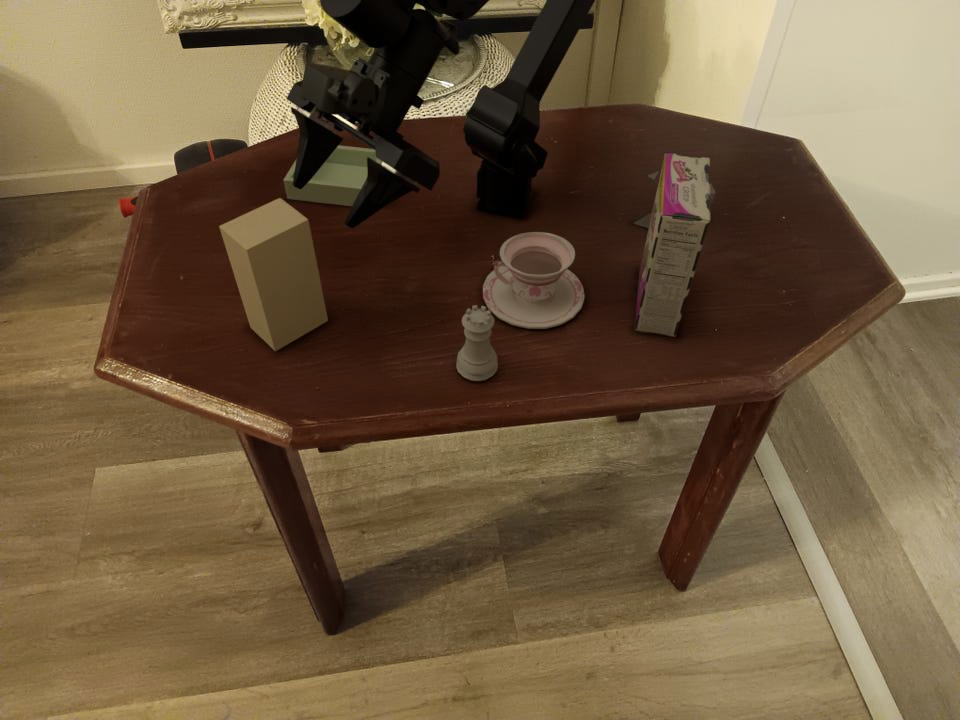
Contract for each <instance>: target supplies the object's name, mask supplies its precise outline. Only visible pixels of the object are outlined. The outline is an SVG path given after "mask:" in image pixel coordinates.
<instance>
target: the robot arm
mask: <svg viewBox="0 0 960 720" xmlns="http://www.w3.org/2000/svg"><path fill="white" fill-rule="evenodd" d="M319 2H320V7H321V9H322V11H323V12H324V13H325V14H326V15H327V16H329V18H331V19H333V20H334V21H335V22H336V23H337V24H339V25H340V26H341V27H342V28H343V29H345V30H346V31H347V32H349V33H350V34H351V35H353V37H355V38H356V39H357V40H358V41H360V42H362V44H364V45H365V46H366V47H369V48H370V49H371V48H372V49H373V51H372V53H371V54H370V57H369V59H368V60H365V59H363V58H361V57H360V56H359V57H358V59H356V60H354V62H353V63H352V66H351V67H350V68H349V69H346V68H345V69H344V68H341V67H338V66H332V65H327V64H320V63H314V62H305V66H304V71H303V75H302V79H301V80H299V81H296V82H294V83H293V85H292V86H291V88H290V91H289V92H288V95H287V97H286V98H285V99H286V100H288V102H290V103H292V104H293V105H295V106H296V107H297V108H294V107H292V106H291V107H290V111H291V114H292V115H294V118H295V121H296V123H297V127H298V129H299V137H298V138H299V139H298V140H299V141H298V147H297V155H296V159H297V160H296V159H295V161H296V166H295V172H294V178H293V186H294V187H296V188H298V189H302V188H303V187H304V186H305V185H306V184H307V183H308V182H309V181H310V180H311V179H312V178H313V176H314V175H315V174H316V173H317V171H318V170H319V169H320V168H321V166H322V165H323V164H324V163H325V161H326V160H327V159H328V158H329V156H330V155H331V154H332V153H333V152H334V150H335V149H336V148H337V147H338V145H340V144H341V143H342V142H343V140H344V137H342V136H340V135H339V134H338V133H336V132H335V131H333V130H336V131H337V132H340V133H341V132H346V133H348V134H349V135H350V136H352V137H353V138H355V139H357V140H358V141H359V142H361V143H363V144H365V145H366V146H367V147H369V148H370V149H374V150H375V151H376V158H378V159H379V160H381V161H382V162H381V164H379V163H377V162H376V161H374V160H372V159H370V158H369V157H367V171H368V176H367V179H366V181H365V182H364V184H363V186H362V188H361V190H360V192H359V194H358V196H357V198H356V200H355V202H354V204H353V205H352V206H350V207H351V208H350V210H349V211H348V213H347V217H346V219H345V221H344V224H345V226H346V227H348V228H351V229H354V228H356V227H358V226H359V225H361V224H362V223H363V222H364V221H367V220H368V219H369V218H370V217H372V216H373V215H375V214H376V213H378V212H380V211H381V210H382V209H384V208H385V207H387V206H388V205H390V204H392V203H393V202H395V201H397V200H398V199H401V198H402V197H404V196H406V195H408V194H409V193H412V192H414V193H416V194H418V193H419V192H420V191H421V187H423V188H425V189H427V190H429V191H433V188H434V186H435V185H436V183H437V181H438V180H439V178H440V175H441V174H440V173H441V171H440V169H441V168H440V166H441V165H440V162H439V161H437V160H436V159H435V158H433V157H432V156H430V155H428V154H427V153H425V152H424V151H422V150H421V149H420V148H418V147H417V146H415V145H413V144H412V143H411V142H408V141H406V140H405V139H403V138H404V135H403V134H401V133H400V132H398V130H399V128H400V127H401V125H402V123H403V121H404V120H405V118H406V116H407V114H408V112H409V111H410V109H411V107H412V106H413V107H414V108H415V109H418V110H420V109H421V107H422V105H423V103H424V101H425V100H424V99H423V98H421V97H420V96H419V93H420V91H421V89H422V88H423V86H424V84H425V83H426V80H427V78H428V77H429V75H430V74H431V72H432V70H433V68H434V66H435V65H436V63H437V61H438V60H439V58H440V56H441V54H442V52H443V51H447V52H448V53H450V54H452V55H454V56H458V55H459V54H460V51H461V49H460V42H459V40H458V35H457V29H458V27H457V26H456V25H455V24H453V23H451V22H449V21H448V20H445V19H440V20H438V19H437V18H436V17H435V16H434V15H433V14H432V13H431V12H430V11H432V12H434V13H436V14H437V15H446V16H449V17H451V18H453V19H455V20H459V21H467V20H469V19H471V18H473V17H474V16H475V15H476V14H478V12H479V11H481V10H482V9H483V7H485V6H486V5H487V3H488V2H490V0H319ZM595 2H596V0H546V1H545V3H544V5H543V6H542V8H541V10H540V12H539V13H538V15H537V18H536V20H535V21H534V24H533V26H532V27H531V29H530V31H529V33H528V34H527V36H526V39H525V40H524V42H523V44H522V46H521V47H520V50H519V52H518V54H517V56H516V58H515V60H514V61H513V63H512V65H511V67H510V69H509V70H508V72H507V74H506V76H505V78H504V79H503V80H502V81H500V82H499V83H498V84H497V85H495V86H493V87H492V88H491V87H490V86H488V85H486V84H484V85H482V86H481V88H479V90H478V91H477V94H476V96H475V99H474V101H473V103H472V105H471V106H470V108H469V109H468V110H467V111H466V112H465V116H466V120H465V122H464V125H463V127H462V132H463V133H464V141H465V144H466V145H467V146H468V148H469V149H470V151H471V154H472V155H473V156H475V157H477V158H480V159H482V161H480V162H481V163H480V166H479V167H478V169H477V171H476V198H477V199H478V202H477V204H476V210H477V211H479V212H485V213H491V214H494V215H495V214H496V215H501V216H504V217H505V216H506V217H511V218H516V219H524V217H525V215H526V213H527V210H528V208H529V206H530V203H531V201H532V199H533V196H534V195H535V189H534V188H533V187H532V186H533V179H534V178H536V177H537V176H538V172H539V171H540V170H543V169H544V167H545V164H546V160H547V157H548V154H549V153H548V151H547V150H546V149H545V148H543V147H542V146H541V145H540V144H539V143H537V141H535V140H536V138H537V136H538V133H539V131H540V127H541V101H542V99H543V97H544V94H545V93H546V91H547V89H548V88H549V86H550V84H551V82H552V80H553V78H554V77H555V75H556V73H557V71H558V69H559V68H560V66H561V64H562V62H563V60H564V58H565V56H566V54H567V53H568V51H569V49H570V47H571V46H572V44H573V42H574V40H575V38H576V37H577V34H578V33H579V31H580V29H581V28H582V25H583V24H584V22H585V21H586V18H587V16H588V15H589V13H590V11H591V9H592V7H593V6H594V3H595ZM416 5H419V6H421V7H423V8H415V7H416ZM424 8H425V9H424ZM426 9H428V10H429V11H428V10H426ZM356 123H358V124H359V126H357V125H356ZM371 132H372V133H374V135H373V136H372V135H371V134H370V133H371ZM418 185H420V186H421V187H419V186H418Z"/></svg>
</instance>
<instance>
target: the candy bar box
mask: <svg viewBox="0 0 960 720" xmlns="http://www.w3.org/2000/svg"><path fill="white" fill-rule="evenodd" d="M710 182H711V159H710V157H704V156H698V157H697V156H693V155H687V154H681V155H680V154H679V153H669V152H667V153H664V156H663V160H662V164H661V169H660V175H659V179H658V182H657V183H658V184H657V188H656V192H655V198H654V202H653V206H652V211H651V213H652V216H651V220H650V225H649V228H647V229H648V230H647V234H646V240H645V244H644V249H643V253H642V258H641V262H640V267H639V273H638V283H637V297H636V307H635V321H634V323H635V324H634V331H635V332H639V333H644V334H652V335H657V336H658V335H659V336H665V337H671V338H676V337H677V335H678V334H677V333H678V330H679V327H680V324H681V320H682V318H683V313H684V311H685V307H686V304H687V300H688V297H689V293H690V290H691V287H692V283H693V279H694V276H695V273H696V269H697V266H698V263H699V260H700V257H701V253H702V249H703V245H704V243H705V238H706V235H707V232H708V228H709V227H710V226H709V225H710V222H711V205H710Z"/></svg>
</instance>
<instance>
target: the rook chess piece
mask: <svg viewBox="0 0 960 720" xmlns="http://www.w3.org/2000/svg"><path fill="white" fill-rule="evenodd" d="M461 324H462V327H464V329H463V334H464V336H465V342H464V345H463V346H462V347H461V348H460V350H459V351H458V353H457V356H456V365H455V367H456V369H457V372H458V373H459V374H460V375H461V376H462V377H463V378H465V379H466V380H469V381H471V382H482V381H487V380H488V379H489V378H491V377H494V375H495V374H496V372H498V368H499V363H498V356H497V353H496V351H495V349H494V348H493V346H492V344H491V339H490V337H491V336H492V332H493V331H492V328H493V327H494V325H495V318H494V316H493V314H492V312H491V311H490V310H489V309H488V310H487V306H485V305H481V307H480V308H478V305H477V304H476V305H475V304H474V305H472V308H469V307H468V308H467V309H466V311H465V314H463V316H462V317H461Z"/></svg>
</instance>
